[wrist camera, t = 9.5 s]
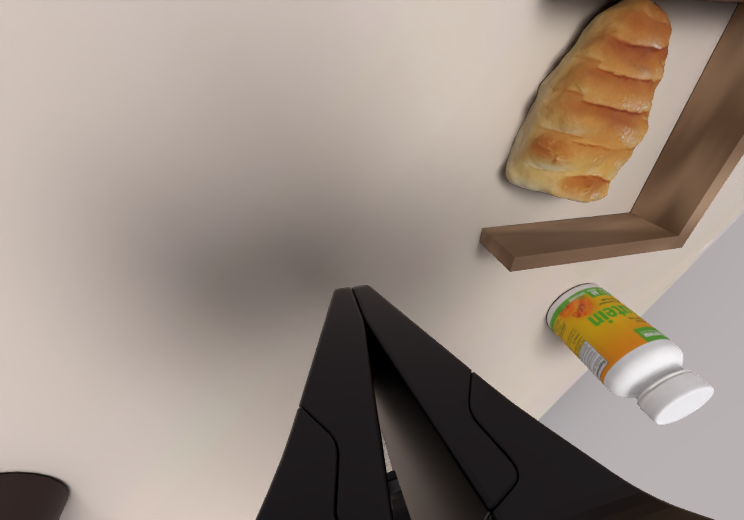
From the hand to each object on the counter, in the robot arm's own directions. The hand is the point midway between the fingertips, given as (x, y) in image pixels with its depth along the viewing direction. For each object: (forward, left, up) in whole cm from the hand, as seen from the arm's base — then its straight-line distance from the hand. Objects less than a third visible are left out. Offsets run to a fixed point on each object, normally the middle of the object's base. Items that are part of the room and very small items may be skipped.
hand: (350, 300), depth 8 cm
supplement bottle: (-14, -22, -10) cm, 28 cm away
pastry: (+2, -14, -11) cm, 18 cm away
